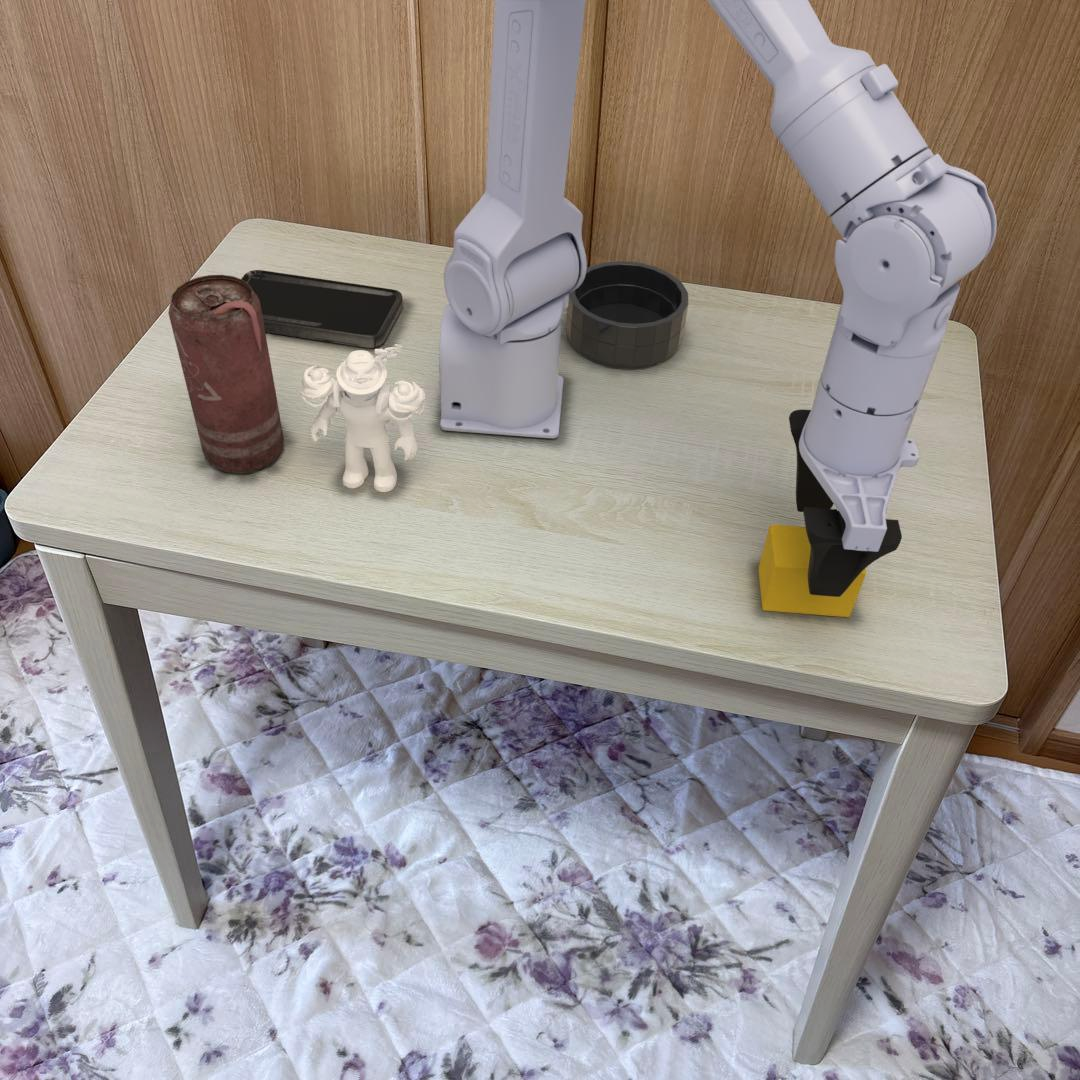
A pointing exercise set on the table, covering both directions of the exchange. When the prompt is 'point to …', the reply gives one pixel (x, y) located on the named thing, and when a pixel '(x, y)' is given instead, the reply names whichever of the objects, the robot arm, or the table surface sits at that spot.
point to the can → (227, 372)
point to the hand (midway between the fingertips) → (817, 549)
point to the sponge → (797, 577)
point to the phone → (325, 308)
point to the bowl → (627, 315)
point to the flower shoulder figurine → (365, 413)
